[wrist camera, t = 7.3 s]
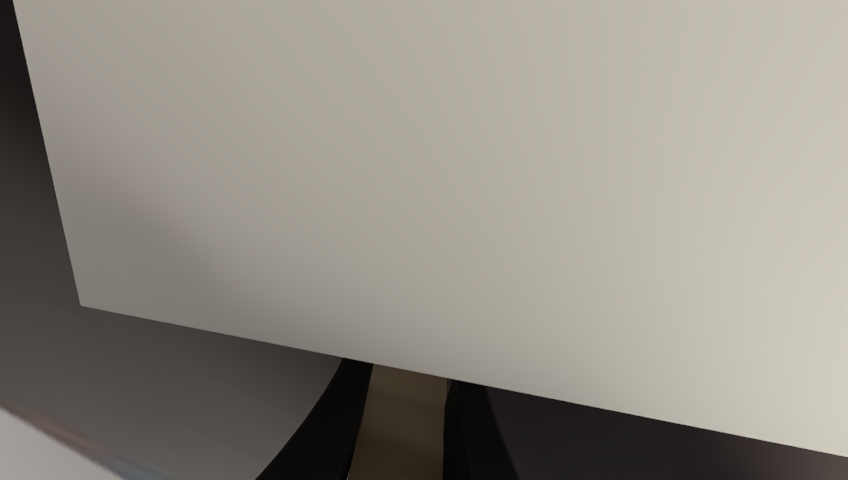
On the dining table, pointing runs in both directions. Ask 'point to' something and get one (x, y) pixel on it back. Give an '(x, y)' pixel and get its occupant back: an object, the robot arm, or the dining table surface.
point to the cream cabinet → (474, 190)
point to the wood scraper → (401, 427)
